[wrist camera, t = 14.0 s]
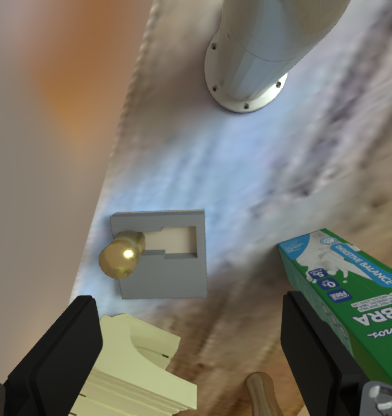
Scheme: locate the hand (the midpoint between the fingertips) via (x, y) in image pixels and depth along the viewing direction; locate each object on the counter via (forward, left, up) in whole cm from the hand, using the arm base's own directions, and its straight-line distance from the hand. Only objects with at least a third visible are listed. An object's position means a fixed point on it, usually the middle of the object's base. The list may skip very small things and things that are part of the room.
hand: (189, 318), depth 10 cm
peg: (+7, -12, -27) cm, 30 cm away
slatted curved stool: (+32, -15, -28) cm, 46 cm away
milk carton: (+12, +20, -28) cm, 37 cm away
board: (+10, -7, -28) cm, 31 cm away
